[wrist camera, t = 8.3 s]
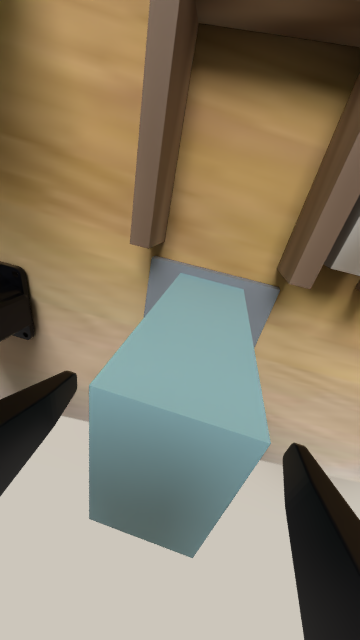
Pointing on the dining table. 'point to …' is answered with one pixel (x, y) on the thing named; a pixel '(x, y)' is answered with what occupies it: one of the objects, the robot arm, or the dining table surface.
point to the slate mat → (255, 292)
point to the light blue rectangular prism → (177, 418)
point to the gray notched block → (347, 245)
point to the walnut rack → (170, 102)
